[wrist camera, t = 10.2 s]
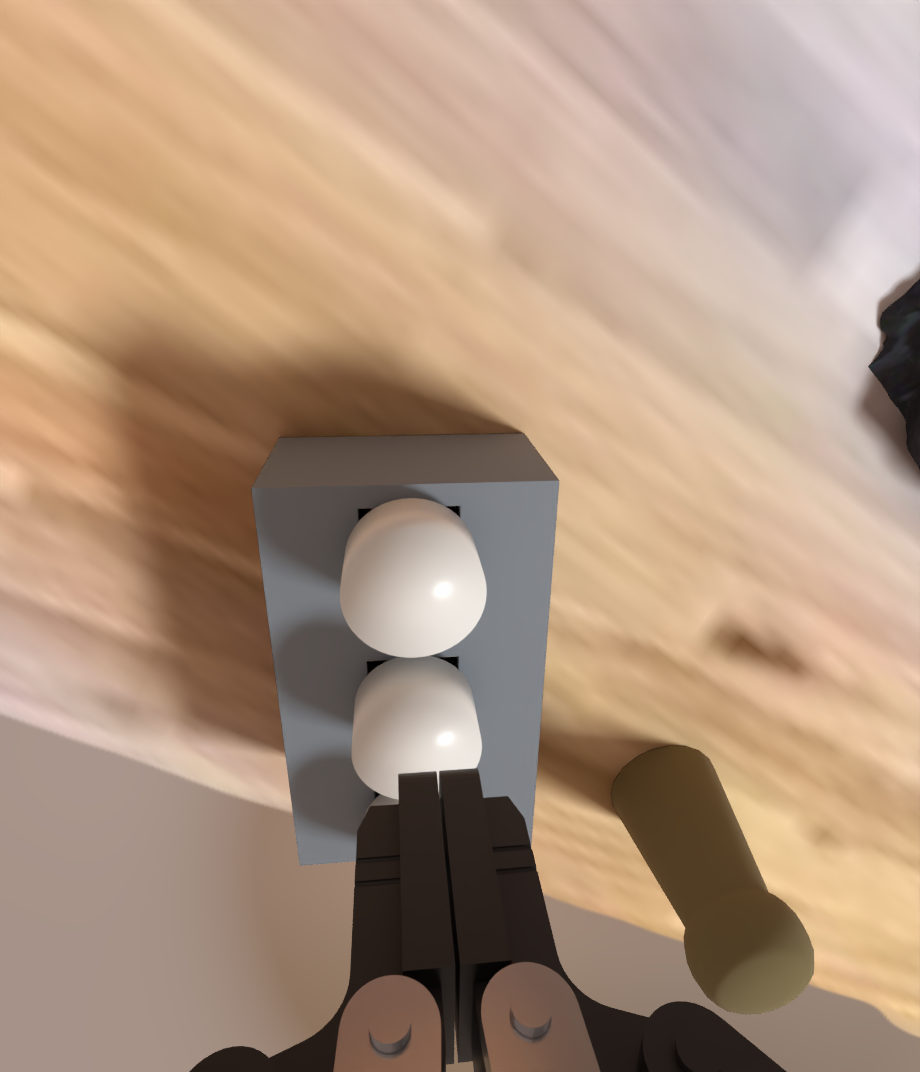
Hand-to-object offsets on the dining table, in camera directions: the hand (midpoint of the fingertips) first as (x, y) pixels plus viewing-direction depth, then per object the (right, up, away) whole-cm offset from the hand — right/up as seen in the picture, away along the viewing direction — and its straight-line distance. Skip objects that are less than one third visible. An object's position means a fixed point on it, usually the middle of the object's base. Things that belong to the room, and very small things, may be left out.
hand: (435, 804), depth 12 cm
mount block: (-2, +1, +18) cm, 18 cm away
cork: (+12, -9, +24) cm, 29 cm away
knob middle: (-2, +1, +17) cm, 18 cm away
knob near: (-2, +7, +15) cm, 17 cm away
